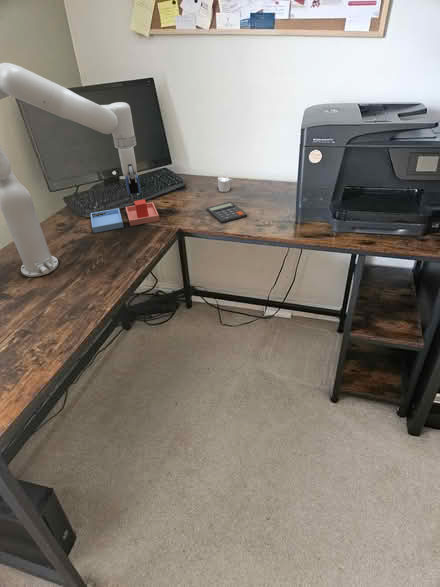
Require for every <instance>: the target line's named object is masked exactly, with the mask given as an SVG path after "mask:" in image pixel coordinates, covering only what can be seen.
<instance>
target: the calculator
mask: <svg viewBox="0 0 440 587" xmlns="http://www.w3.org/2000/svg"><path fill="white" fill-rule="evenodd" d="M206 211H208V212H209V214H211V215H212V216H213V217H214V218H215V219H216V220H218V221H219V222H220V223H222V224H223V223H227V222H231V221H234V220H238V219H241V218H245V217H246V218H247V213H246V212H244V211H243V209H241V208H240V207H238V206H237V205H236V204H234V203H233V202H232V201H228V202H227V201H226V202H224V203H219V204H216V205H211V206H208V207H206Z"/></svg>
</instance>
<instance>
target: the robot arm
mask: <svg viewBox="0 0 440 587" xmlns="http://www.w3.org/2000/svg"><path fill="white" fill-rule="evenodd" d="M7 97H12V98H15V99H17V100H19V101H21V102H23V103H26V104H29V105H30V106H34V107H36V108H39V109H41V110H43V111H46V112H48V113H50V114H53V115H54V116H57V117H60V118H62V119H65V120H69V121H71V122H75V123H78V124H80V125H82V126H84V127H87V128H90V129H92V130H94V131H97V132H99V133H101V134H103V135H111V134H112V139H113V144H114V148H116V149H117V150H118V156H119V160H120V166H121V171H122V175H123V176H124V178H125V177H126V176H127V175H128V180H129V183H128V184H129V189H130V194H131V195H137V194H140V193H139V189H138V184H137V181H136V175H138V168H137V162H136V154H135V148H134V147H136V146H137V140H136V135H135V130H134V129H135V128H134V123H133V116H132V110H131V106H130V104H129V103H127V102H125V101H116V102H112V103H110V104H98V103H96V102H94V101H91V100H90V99H88V98H85V97H84V96H81V95H79V94H77V93H75V92H74V91H72V90H70V89H68V88H66V87H65V86H62V85H60V84H58V83H56V82H54V81H52V80H49V79H48V78H45V77H43V76H41V75H39V74H37V73H35V72H33V71H31V70H30V69H26V68H25V67H23V66H20V65H17V64H14V63H10V62H1V63H0V100H2V99H6V98H7ZM130 177H131V178H130ZM136 193H137V194H136ZM0 211H1V213H2V215H3V218H4V221H5V223H6V224H5V225H6V226H7V228H8V231H9V233H10V235H11V238H12V241H13V243H14V245H15V247H16V250H17V253H18V255H19V257H20V260H21V262H22V265H21V267H20V272H21V274H22V275H23V276H25V277H29V278H36V277H41V276H45V275H48V274H50V273H52V272H53V271H55V270H56V269H57V267H58V266H59V260H58V258H57V257H55V256H54V255H52V254H51V251H50V249H49V245H48V243H47V240H46V238H45V235H44V232H43V229H42V227H41V223H40V222H39V218H38V215H37V212H36V209H35V205H34V201H33V197H32V195H31V193H30V192H29V190H28V189H27V188H26V186H25V185H24V184H22V183H21V182H20V181H19V180H18V179H17V176H16V175H15V173H14V172H13V170H12V165H11V160H10V159H9V157H8V155H7V154H6V153H5V151H4V149H3V148H2V146H1V145H0Z"/></svg>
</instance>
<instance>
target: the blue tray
mask: <svg viewBox="0 0 440 587" xmlns="http://www.w3.org/2000/svg"><path fill="white" fill-rule="evenodd" d="M105 212H106V213H105ZM98 213H105V214H103V215H99V216H94V217H93V216H92V214H98ZM90 221H91V222H90V223H91V229H92V233H93V234H95V233H101V232H107V231H111V230H118V229H122V228H124V222H123V218H122V214H121V211H120V208H119V207H118V208H112V209H106V210H101V211H95V212H90Z"/></svg>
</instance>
